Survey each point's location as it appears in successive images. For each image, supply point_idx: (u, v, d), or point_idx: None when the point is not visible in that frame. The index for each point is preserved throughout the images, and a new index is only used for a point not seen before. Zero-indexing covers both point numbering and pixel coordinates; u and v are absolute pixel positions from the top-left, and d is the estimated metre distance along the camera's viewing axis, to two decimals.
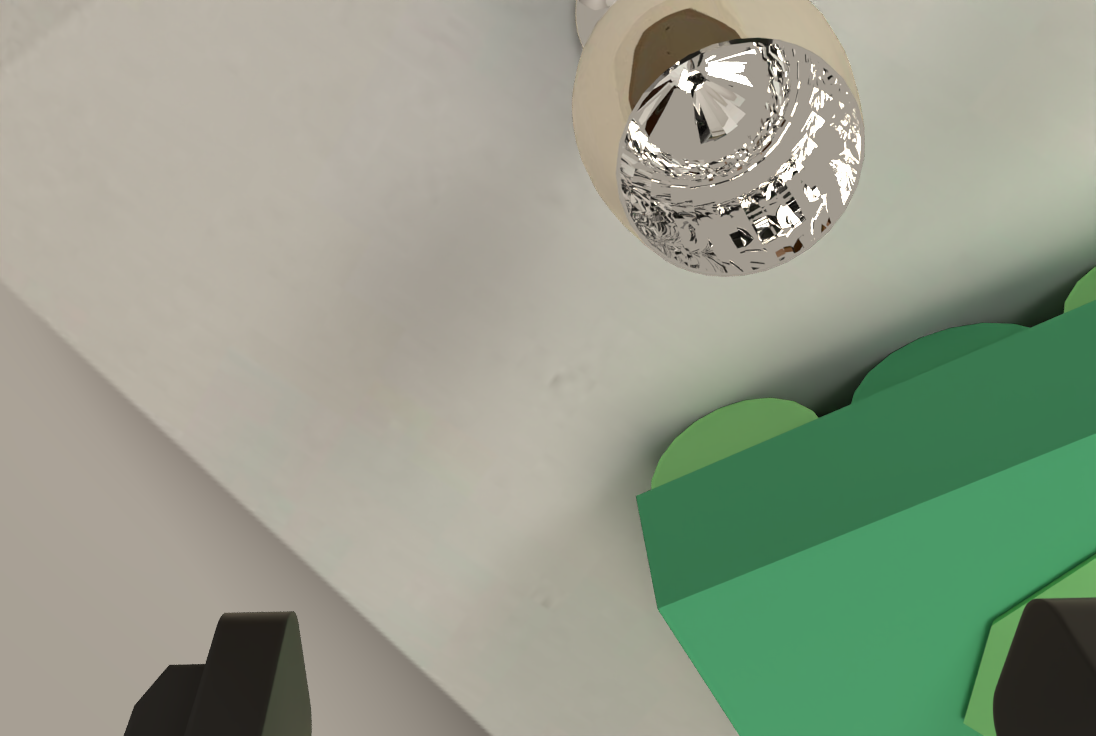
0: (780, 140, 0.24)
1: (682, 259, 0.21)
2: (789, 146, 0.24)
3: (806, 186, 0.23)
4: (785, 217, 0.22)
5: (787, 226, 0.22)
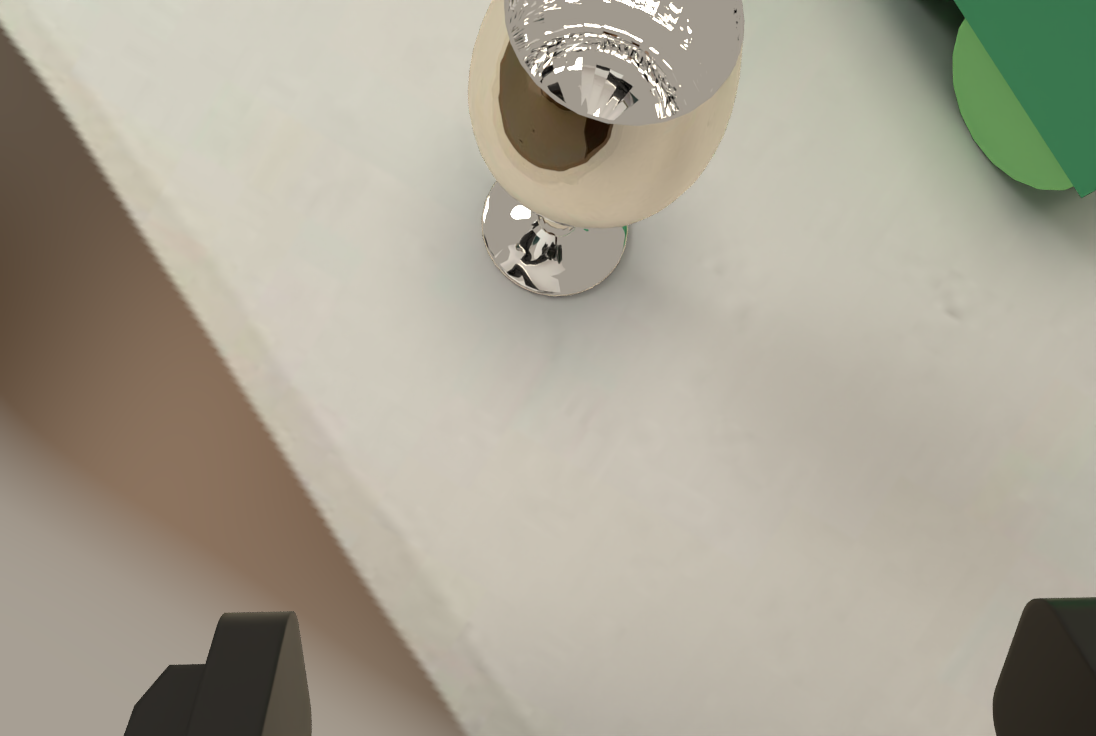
0: (638, 43, 0.25)
1: None
2: (642, 31, 0.25)
3: None
4: (699, 4, 0.23)
5: None
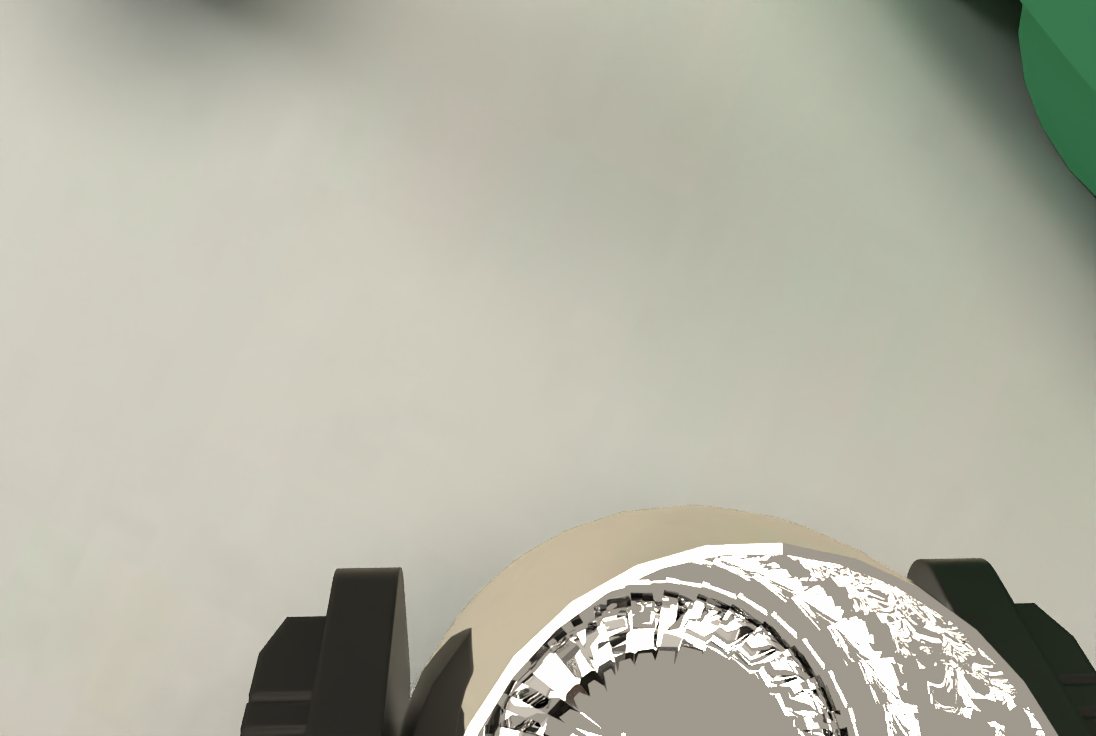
0: (745, 581, 0.12)
1: None
2: (753, 568, 0.12)
3: None
4: (899, 606, 0.10)
5: (921, 617, 0.09)
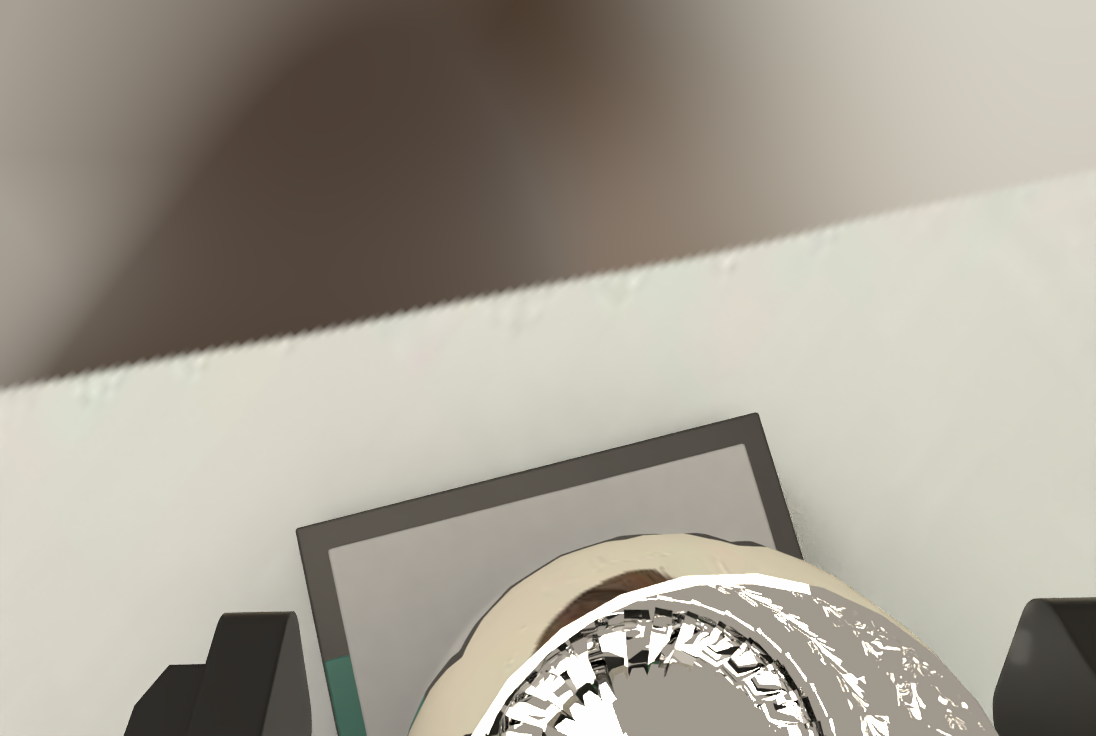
0: (732, 598, 0.13)
1: None
2: (739, 586, 0.13)
3: None
4: (873, 626, 0.10)
5: (891, 637, 0.10)
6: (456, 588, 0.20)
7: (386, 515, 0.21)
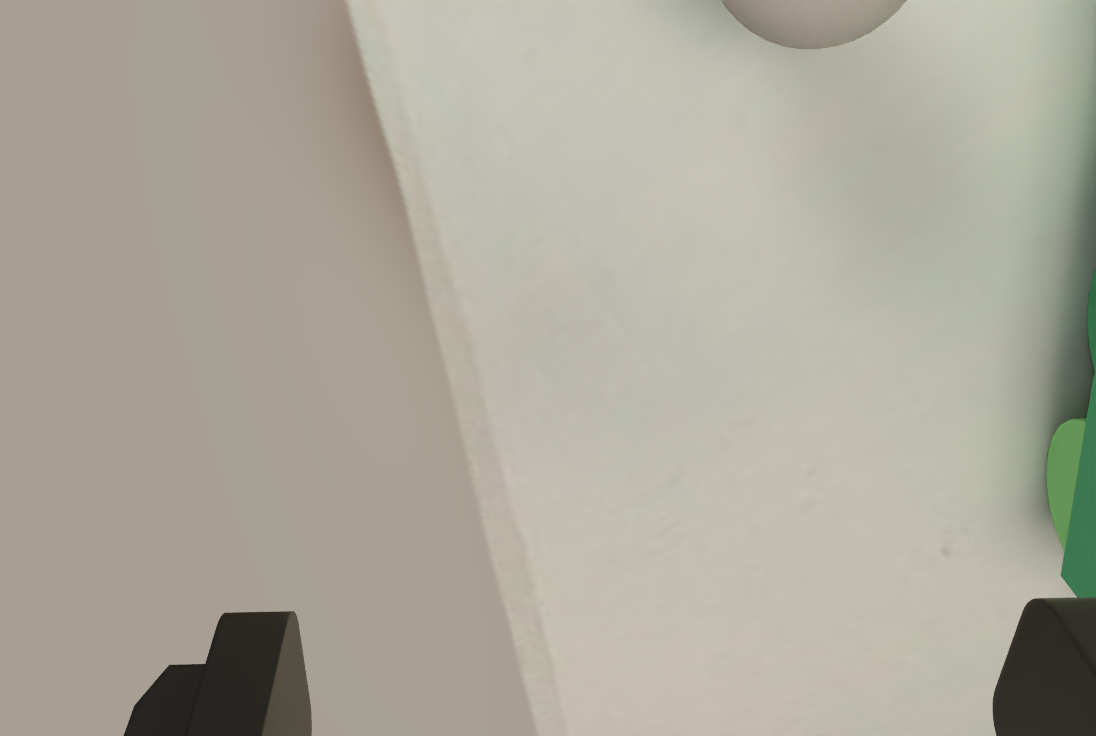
0: None
1: None
2: None
3: None
4: None
5: None
6: None
7: None
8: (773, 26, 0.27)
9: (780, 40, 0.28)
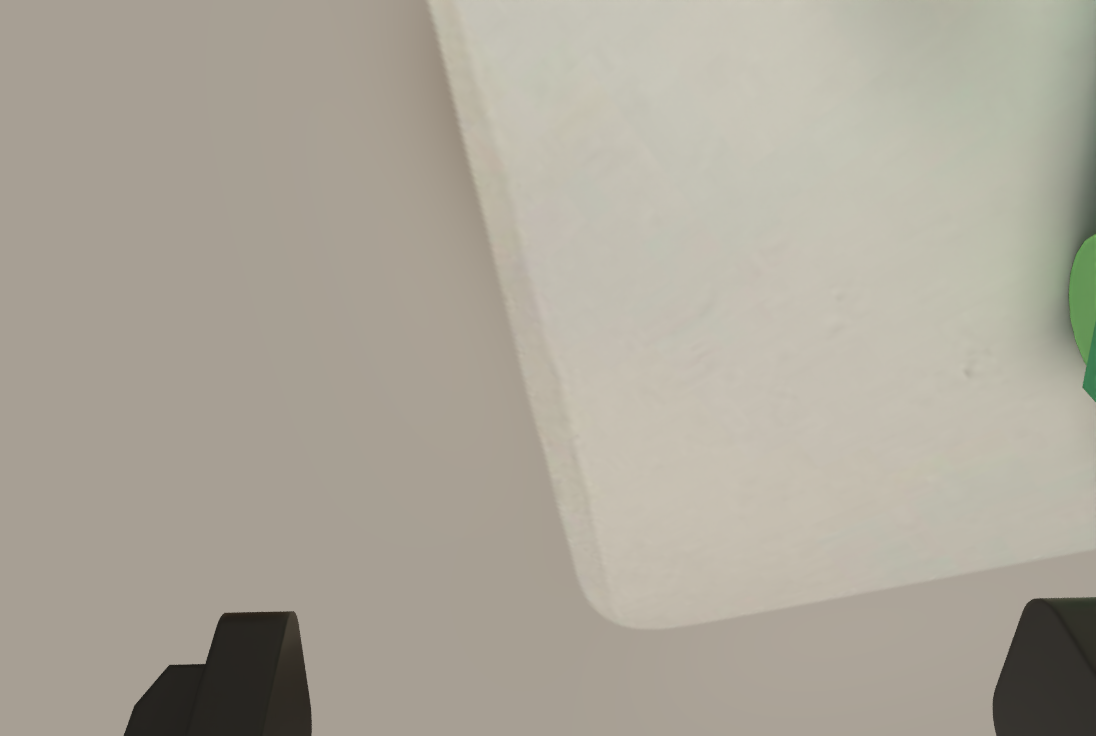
0: None
1: None
2: None
3: None
4: None
5: None
6: None
7: None
8: None
9: None
